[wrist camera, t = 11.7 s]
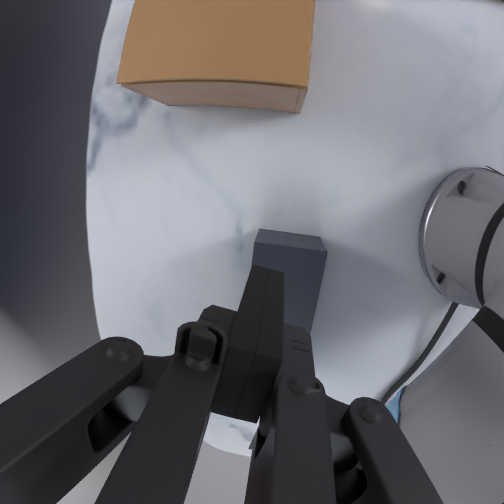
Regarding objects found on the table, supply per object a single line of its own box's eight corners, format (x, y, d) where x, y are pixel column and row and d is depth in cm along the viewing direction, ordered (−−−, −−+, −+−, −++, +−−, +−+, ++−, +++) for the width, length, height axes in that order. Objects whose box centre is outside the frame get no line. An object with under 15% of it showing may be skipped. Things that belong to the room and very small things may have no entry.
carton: (189, -13, 22) (156, -62, 12) (310, -10, 21) (318, -67, 11) (167, 105, 26) (115, 84, 17) (299, 113, 26) (308, 87, 16)
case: (296, 354, 33) (297, 382, 28) (244, 347, 33) (239, 375, 29) (320, 236, 29) (327, 251, 24) (259, 228, 29) (254, 241, 24)
